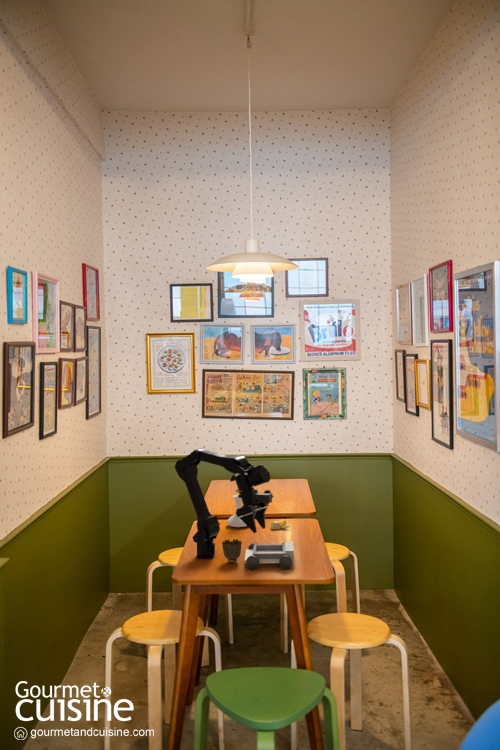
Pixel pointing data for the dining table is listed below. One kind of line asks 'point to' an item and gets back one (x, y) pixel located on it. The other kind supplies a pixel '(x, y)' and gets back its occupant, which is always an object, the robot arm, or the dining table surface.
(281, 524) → the character toy
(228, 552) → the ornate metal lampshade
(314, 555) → the dining table surface
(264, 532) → the dining table surface
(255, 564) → the car chassis
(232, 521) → the flower in vase
